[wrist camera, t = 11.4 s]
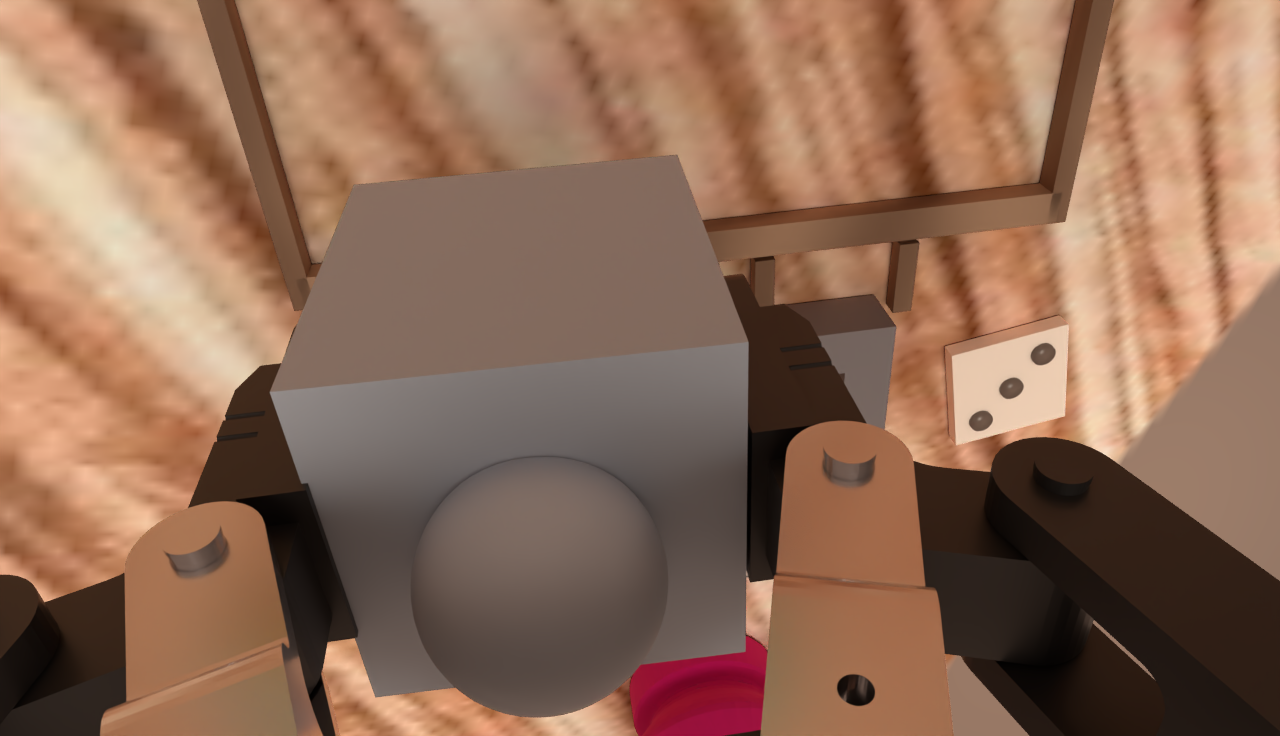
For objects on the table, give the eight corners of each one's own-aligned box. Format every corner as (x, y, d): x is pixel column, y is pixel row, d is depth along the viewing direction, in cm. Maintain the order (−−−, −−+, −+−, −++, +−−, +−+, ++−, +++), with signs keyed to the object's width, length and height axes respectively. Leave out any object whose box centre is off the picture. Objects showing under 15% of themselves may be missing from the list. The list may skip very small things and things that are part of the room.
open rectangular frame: (1144, -229, 22) (1169, -229, 21) (1036, 285, 30) (1051, 300, 29) (160, -155, 20) (146, -151, 20) (321, 371, 28) (317, 390, 28)
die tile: (1059, 314, 31) (1071, 326, 30) (1056, 406, 33) (1066, 418, 33) (944, 346, 31) (953, 358, 30) (949, 435, 33) (958, 448, 33)
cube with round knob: (677, 154, 13) (797, 470, 7) (686, 412, 15) (780, 797, 10) (354, 184, 13) (212, 536, 7) (416, 440, 15) (350, 853, 9)
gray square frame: (873, 294, 30) (896, 326, 28) (851, 522, 35) (869, 559, 33) (564, 331, 29) (568, 366, 27) (591, 558, 34) (597, 598, 33)
